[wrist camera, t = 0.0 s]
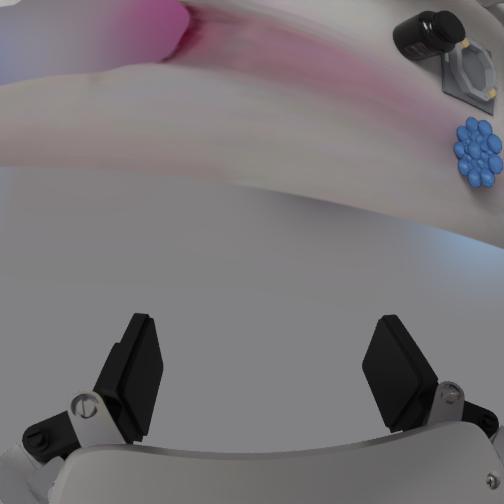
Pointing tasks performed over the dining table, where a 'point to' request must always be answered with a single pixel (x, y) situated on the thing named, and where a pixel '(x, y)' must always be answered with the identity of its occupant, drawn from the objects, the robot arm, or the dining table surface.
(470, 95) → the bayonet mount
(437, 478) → the robot arm
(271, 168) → the dining table surface
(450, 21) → the supplement bottle
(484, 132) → the blue petal flower
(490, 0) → the beer glass
